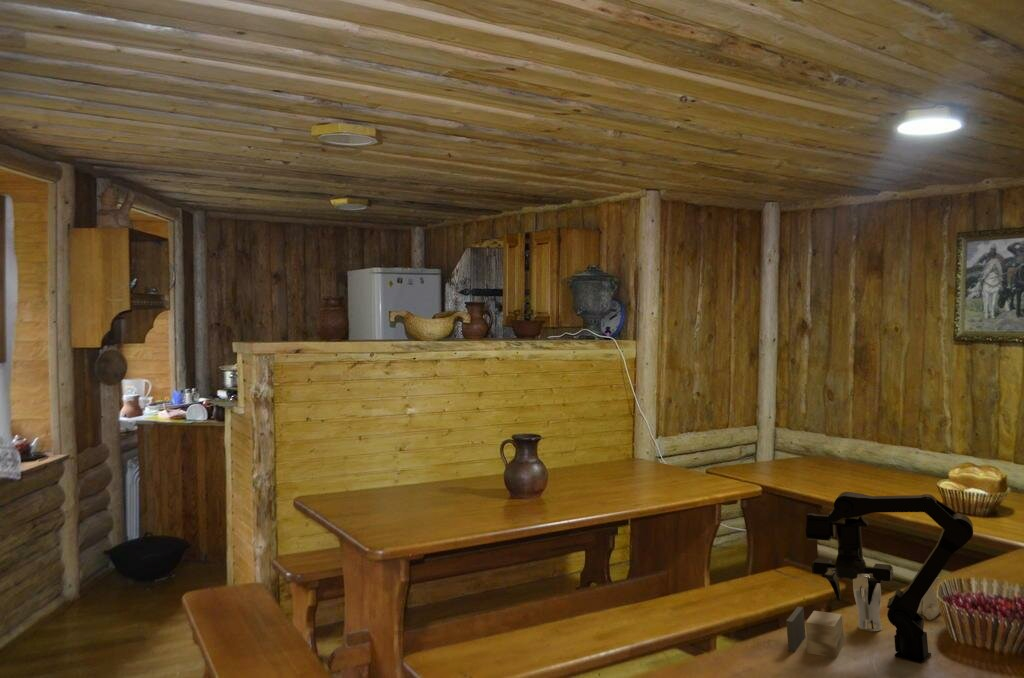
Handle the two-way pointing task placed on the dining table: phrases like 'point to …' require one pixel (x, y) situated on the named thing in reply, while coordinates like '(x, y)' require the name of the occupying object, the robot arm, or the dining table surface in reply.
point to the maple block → (824, 634)
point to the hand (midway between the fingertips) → (854, 602)
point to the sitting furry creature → (929, 603)
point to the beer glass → (867, 613)
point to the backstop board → (795, 629)
